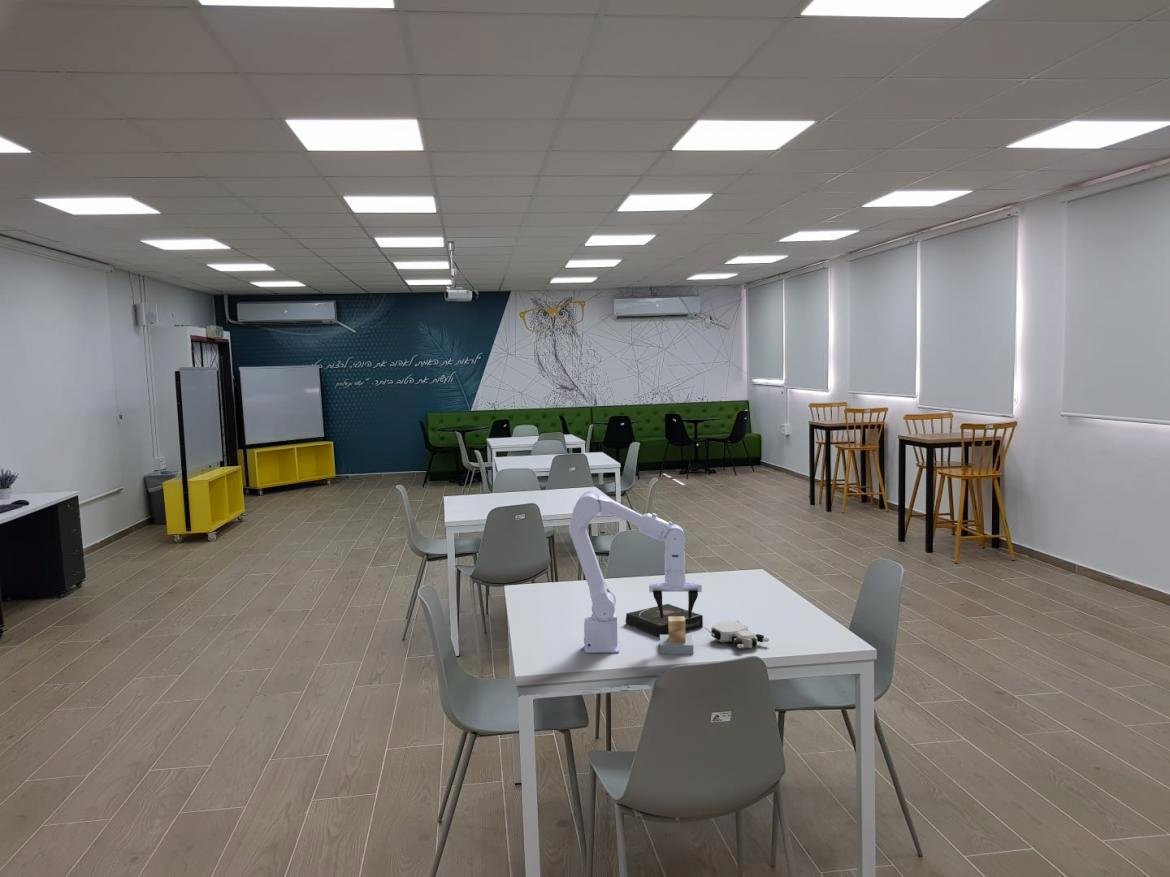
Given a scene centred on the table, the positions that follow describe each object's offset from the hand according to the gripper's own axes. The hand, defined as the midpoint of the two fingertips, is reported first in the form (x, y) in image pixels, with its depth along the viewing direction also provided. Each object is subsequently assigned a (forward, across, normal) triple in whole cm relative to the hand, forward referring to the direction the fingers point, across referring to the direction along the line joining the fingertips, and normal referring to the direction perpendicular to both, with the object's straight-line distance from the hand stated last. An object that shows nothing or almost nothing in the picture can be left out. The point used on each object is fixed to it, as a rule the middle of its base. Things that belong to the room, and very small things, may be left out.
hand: (675, 617), depth 225 cm
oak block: (+6, 0, 0) cm, 7 cm away
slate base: (+10, 0, 0) cm, 10 cm away
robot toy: (+9, +17, +4) cm, 20 cm away
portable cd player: (+10, -3, +21) cm, 23 cm away
